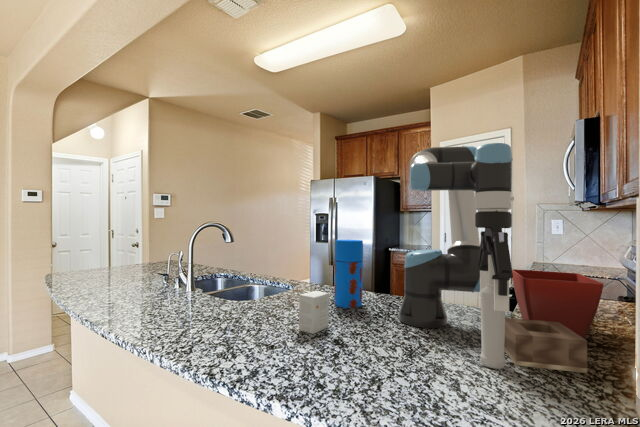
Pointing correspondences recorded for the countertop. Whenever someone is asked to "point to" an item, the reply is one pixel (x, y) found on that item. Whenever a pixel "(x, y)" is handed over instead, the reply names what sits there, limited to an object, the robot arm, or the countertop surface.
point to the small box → (313, 311)
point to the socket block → (544, 345)
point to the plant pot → (558, 298)
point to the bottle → (491, 326)
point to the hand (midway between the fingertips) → (493, 303)
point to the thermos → (348, 273)
